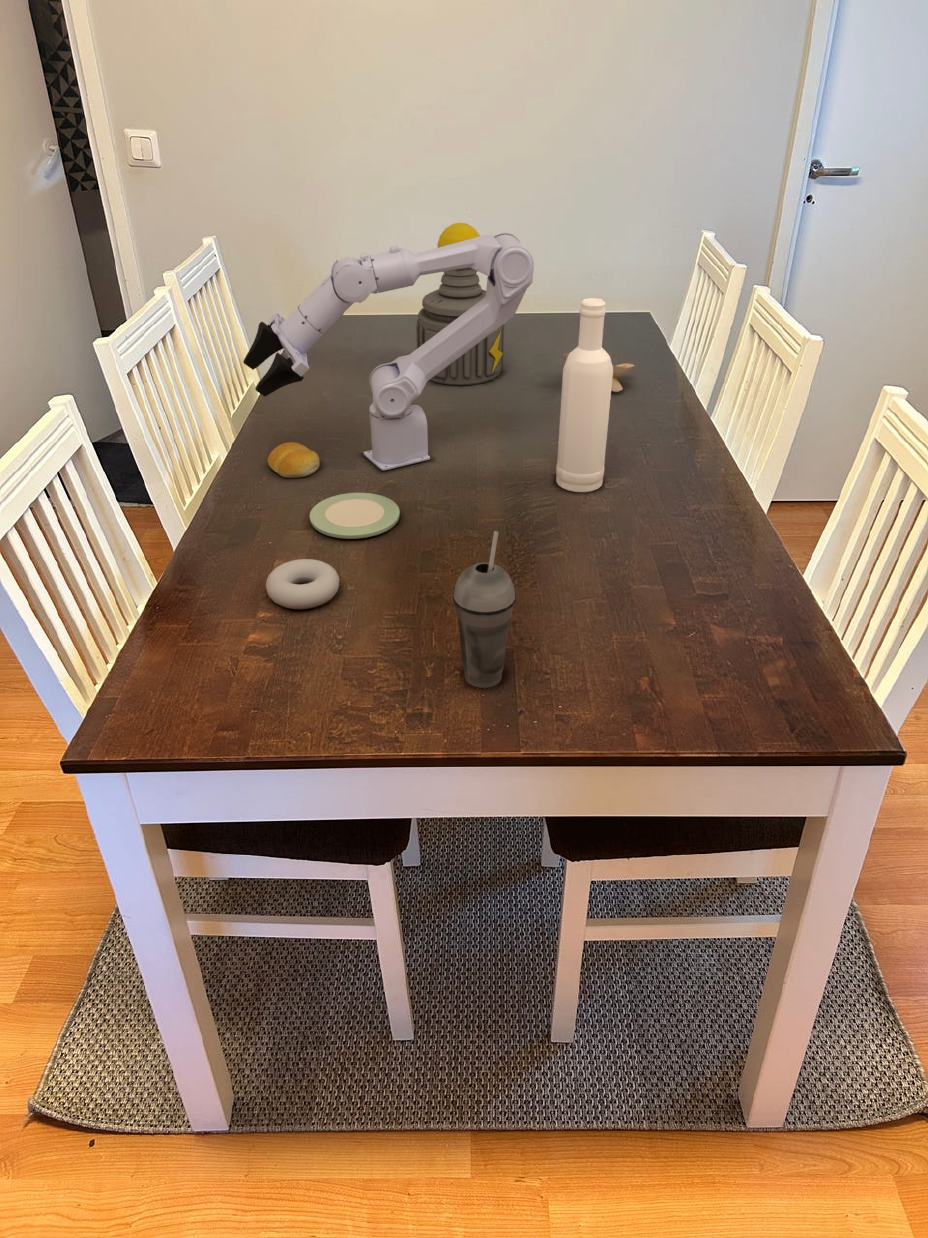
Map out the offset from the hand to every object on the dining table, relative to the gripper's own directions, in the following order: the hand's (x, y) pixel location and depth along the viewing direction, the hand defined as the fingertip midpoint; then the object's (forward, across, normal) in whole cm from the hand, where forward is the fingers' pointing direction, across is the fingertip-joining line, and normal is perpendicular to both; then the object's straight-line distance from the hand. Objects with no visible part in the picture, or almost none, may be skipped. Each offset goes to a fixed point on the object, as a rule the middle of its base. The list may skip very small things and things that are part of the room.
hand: (253, 378), depth 152 cm
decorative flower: (-40, -5, +64) cm, 75 cm away
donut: (+6, +44, 0) cm, 45 cm away
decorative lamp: (-20, -24, +51) cm, 60 cm away
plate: (0, +27, +12) cm, 30 cm away
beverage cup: (-9, +70, +5) cm, 71 cm away
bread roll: (+7, +7, +14) cm, 17 cm away
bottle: (-28, +30, +38) cm, 56 cm away
